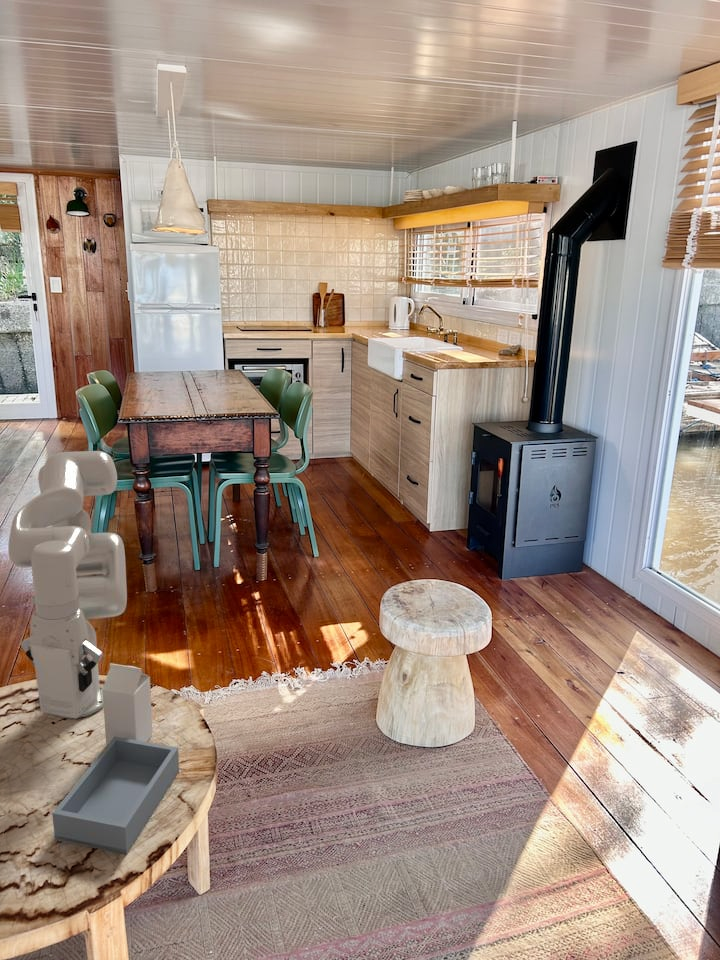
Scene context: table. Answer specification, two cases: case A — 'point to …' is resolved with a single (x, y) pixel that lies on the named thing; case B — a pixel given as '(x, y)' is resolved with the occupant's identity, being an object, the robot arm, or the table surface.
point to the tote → (116, 795)
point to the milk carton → (127, 704)
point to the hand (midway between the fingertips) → (64, 683)
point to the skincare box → (59, 682)
